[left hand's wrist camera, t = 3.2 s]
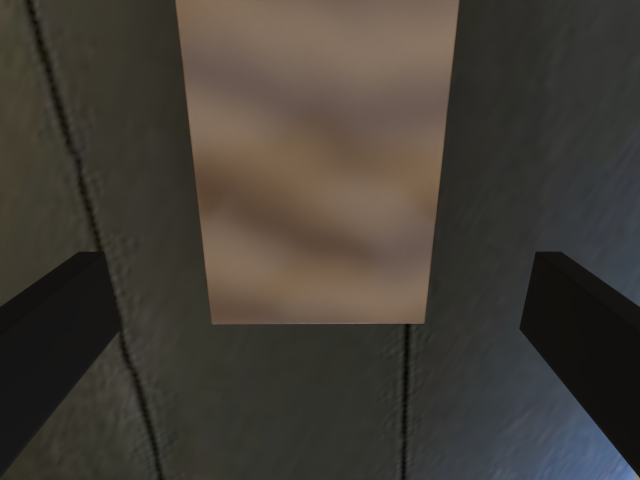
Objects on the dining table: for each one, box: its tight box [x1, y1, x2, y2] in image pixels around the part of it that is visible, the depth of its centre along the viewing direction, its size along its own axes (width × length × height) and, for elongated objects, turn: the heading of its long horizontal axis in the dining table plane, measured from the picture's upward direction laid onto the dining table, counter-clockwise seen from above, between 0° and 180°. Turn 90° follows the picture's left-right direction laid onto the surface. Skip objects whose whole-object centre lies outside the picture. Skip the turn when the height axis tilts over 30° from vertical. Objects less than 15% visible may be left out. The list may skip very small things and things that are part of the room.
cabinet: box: [175, 0, 459, 324], centre depth 20 cm, size 21×10×9 cm, turn 0°
